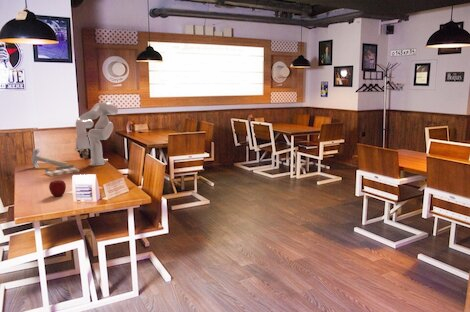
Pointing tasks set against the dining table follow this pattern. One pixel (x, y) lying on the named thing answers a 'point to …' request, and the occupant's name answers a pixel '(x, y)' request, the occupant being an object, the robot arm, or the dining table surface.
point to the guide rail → (59, 168)
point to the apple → (57, 187)
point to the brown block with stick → (84, 154)
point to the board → (62, 171)
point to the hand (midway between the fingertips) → (84, 157)
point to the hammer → (45, 160)
